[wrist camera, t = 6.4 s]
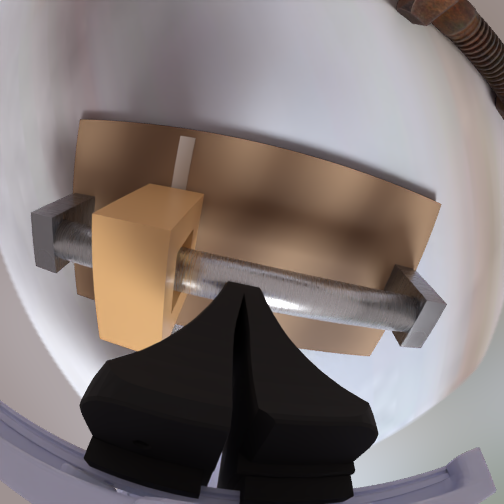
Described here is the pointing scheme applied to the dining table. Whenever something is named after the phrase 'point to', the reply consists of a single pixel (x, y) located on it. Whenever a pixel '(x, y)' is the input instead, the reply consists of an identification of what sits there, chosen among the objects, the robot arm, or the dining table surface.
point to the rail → (255, 278)
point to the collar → (141, 262)
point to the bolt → (463, 36)
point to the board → (264, 212)
